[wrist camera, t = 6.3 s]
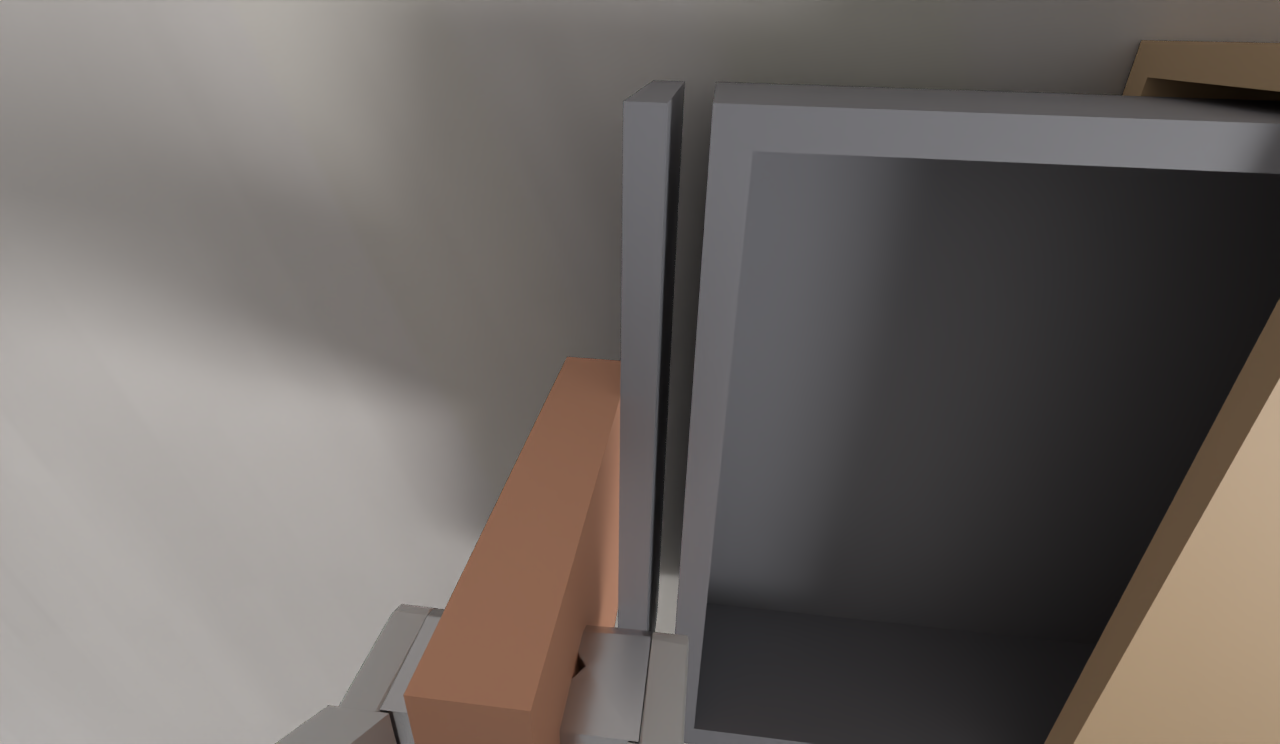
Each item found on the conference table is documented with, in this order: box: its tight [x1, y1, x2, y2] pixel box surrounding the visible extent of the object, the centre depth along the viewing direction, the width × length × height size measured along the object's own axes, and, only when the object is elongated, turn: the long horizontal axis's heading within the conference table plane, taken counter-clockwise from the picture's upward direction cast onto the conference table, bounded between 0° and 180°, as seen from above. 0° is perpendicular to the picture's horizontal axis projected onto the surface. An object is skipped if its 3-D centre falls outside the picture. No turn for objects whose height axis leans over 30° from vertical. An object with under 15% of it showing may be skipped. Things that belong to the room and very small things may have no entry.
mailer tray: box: [403, 81, 1280, 744], centre depth 11 cm, size 22×14×10 cm, turn 89°
